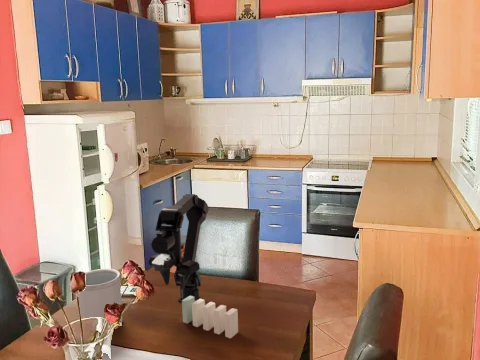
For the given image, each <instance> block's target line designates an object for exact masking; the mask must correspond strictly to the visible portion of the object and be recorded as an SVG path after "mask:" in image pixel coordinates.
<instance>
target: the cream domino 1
mask: <svg viewBox="0 0 480 360" xmlns="http://www.w3.org/2000/svg"><path fill="white" fill-rule="evenodd" d="M204 305H206V301H205V299H202V298H201V299H199V300H197V301H195V302H194V303H192V317H193V320H192V327H193V326H194V327H196V328H198V327H200V326H201V325H203V309H202V307H203V306H204Z"/></svg>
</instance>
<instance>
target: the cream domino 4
mask: <svg viewBox="0 0 480 360" xmlns="http://www.w3.org/2000/svg"><path fill="white" fill-rule="evenodd" d="M238 311H239V309H237V308H232V307H231V308H230V309H229V310H228V311H226V313H225V330H224V334H225V335H224V337H226V338H228V339H232V338H233V337H234V336H235V335H237V334H238V333H239V318H238V317H239V316H238Z"/></svg>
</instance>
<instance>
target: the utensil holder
mask: <svg viewBox="0 0 480 360" xmlns="http://www.w3.org/2000/svg"><path fill="white" fill-rule="evenodd" d="M84 273H85V275H86V288H85V290H84V291H82V292H80V294H79V307H80V314H81V318H89V317H104V308H105V305H106V304H113V303H114V302H115V303H117V304H122V293H121V280H120V279H121V272H119V270H117V269H113V268H98V269H93V270H89V271H85V272H84ZM119 289H120V290H119ZM77 311H78V310H77ZM78 313H79V311H78ZM120 321H121V323H123V315H122V316H121V319H120ZM118 328H119V327H116V328H115V330H116V329H118Z"/></svg>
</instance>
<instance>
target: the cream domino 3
mask: <svg viewBox="0 0 480 360" xmlns="http://www.w3.org/2000/svg"><path fill="white" fill-rule="evenodd" d="M215 308H216V309H214V310H213V315H214V327H213V333H214V334H217V335H221V334H222V333H223V332H225V313H226V312H227V305H224V304H220V305H219V306H217V307H215Z"/></svg>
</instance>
